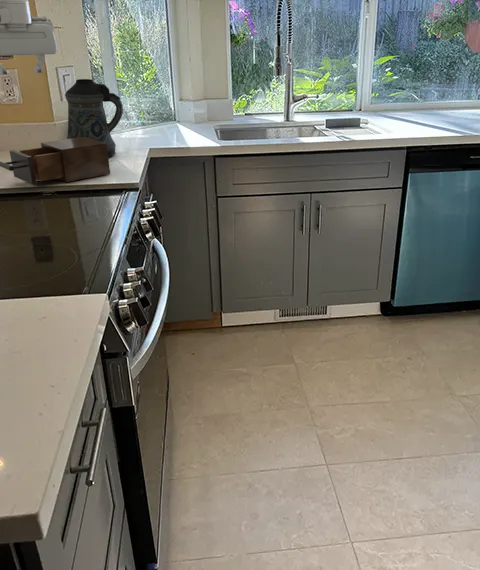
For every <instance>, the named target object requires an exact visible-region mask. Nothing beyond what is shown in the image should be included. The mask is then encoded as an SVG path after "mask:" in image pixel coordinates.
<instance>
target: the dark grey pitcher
mask: <svg viewBox="0 0 480 570" xmlns="http://www.w3.org/2000/svg"><path fill="white" fill-rule="evenodd" d="M110 91H111V90H110V88H109V87H108V86H107V85H106V84H103V83H96V82H94V80H93V79H92V78H90V79H89V78H79V79H76V80H75V83H74V84H73V85H72V86H71V87H70V88H69V89H68V90H66V92H65V94H64V97H65V100H66V101H67V115H68V116H67V135H66V139H72V138H79V137H88V138H91V139H95V140H98V141H101V142H105V143H107V149H108V158H109V159H110V158H112V157H114V156H115V155H116V148H117V147H116V142H115V140H114V139H113V137H112V134H111V133H112V132H113V130H114V129H115V128H116V127H117V125H119V123H120V121H121V119H122V117H123V113H124V105H123V102H122V99H121V98H120V96H118V95H117V94H116V93H114V92H110ZM106 102H107V103H109V102H111V103H112V104H113V105H114V106H115V112H114V115H113V117H112V119H111V120H110V121H109V122H108V119H107V116H106V111H105V108H104V103H106Z"/></svg>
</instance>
